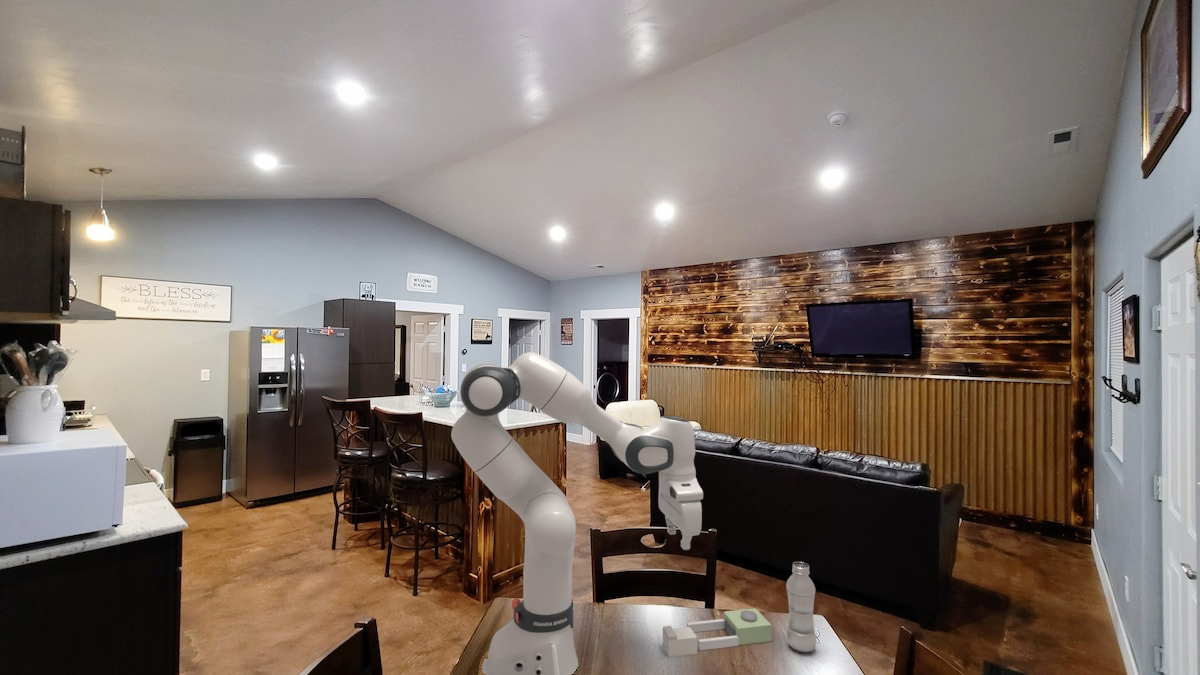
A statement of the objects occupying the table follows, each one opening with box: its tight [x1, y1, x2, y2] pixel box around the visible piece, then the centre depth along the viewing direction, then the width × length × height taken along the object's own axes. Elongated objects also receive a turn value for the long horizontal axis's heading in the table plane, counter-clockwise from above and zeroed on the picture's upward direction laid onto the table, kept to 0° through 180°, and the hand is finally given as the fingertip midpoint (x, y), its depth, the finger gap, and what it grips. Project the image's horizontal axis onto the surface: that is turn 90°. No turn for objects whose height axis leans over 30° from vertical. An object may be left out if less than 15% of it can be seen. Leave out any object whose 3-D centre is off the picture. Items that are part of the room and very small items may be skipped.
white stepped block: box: [662, 625, 698, 658], centre depth 119 cm, size 7×4×5 cm, turn 101°
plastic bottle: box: [785, 561, 817, 653], centre depth 120 cm, size 6×7×20 cm
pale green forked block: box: [686, 607, 773, 651], centre depth 125 cm, size 19×8×5 cm, turn 101°
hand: (678, 540), depth 120 cm, fingers open, 8 cm apart
